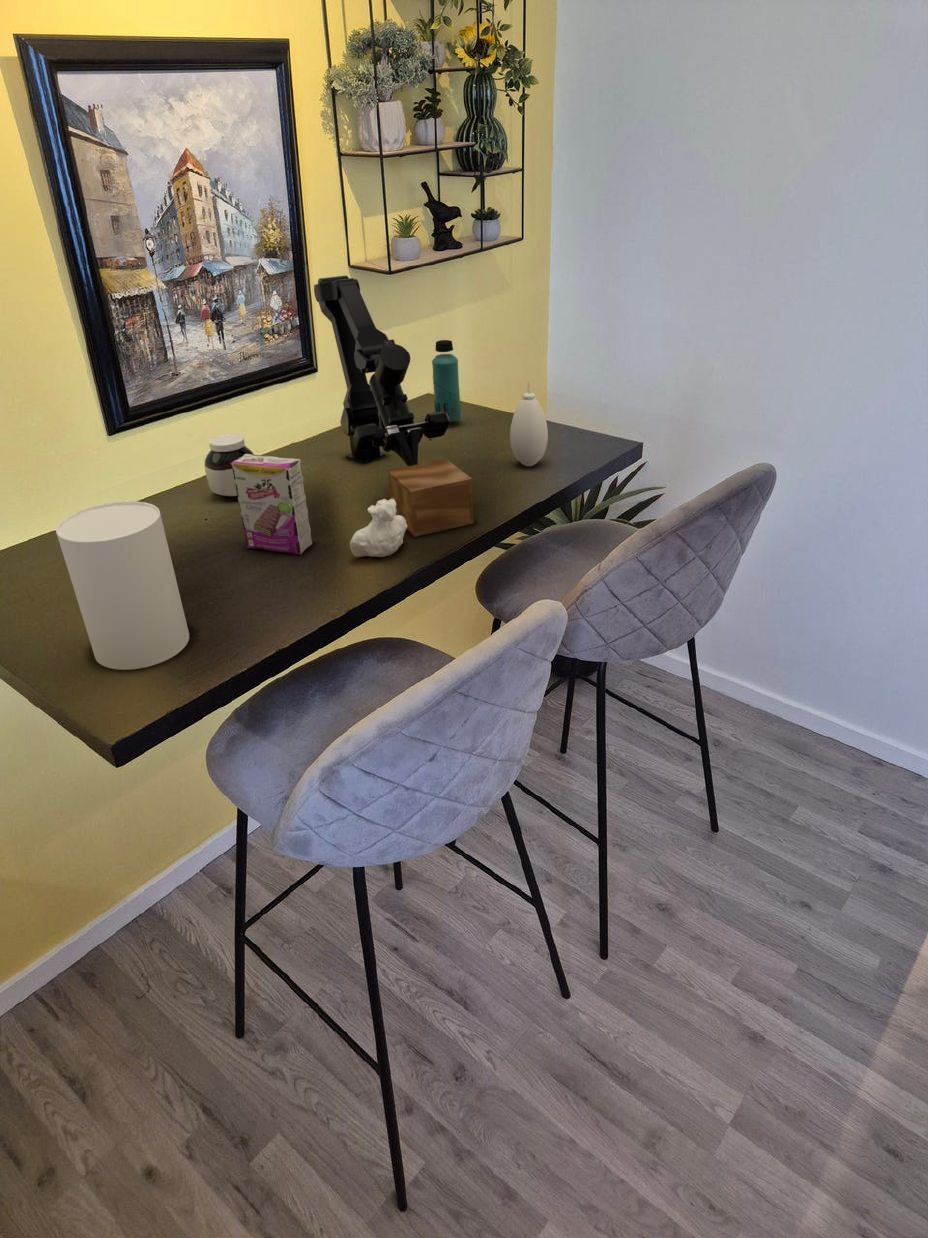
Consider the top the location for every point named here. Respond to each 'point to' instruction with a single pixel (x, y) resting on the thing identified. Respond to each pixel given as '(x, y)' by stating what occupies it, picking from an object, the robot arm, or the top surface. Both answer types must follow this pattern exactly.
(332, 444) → the top surface
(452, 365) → the beverage bottle
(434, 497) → the cabinet
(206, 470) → the spread jar
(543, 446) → the white air blower bulb
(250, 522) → the candy bar box
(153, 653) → the canister
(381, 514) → the white lumpy figure
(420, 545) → the top surface
